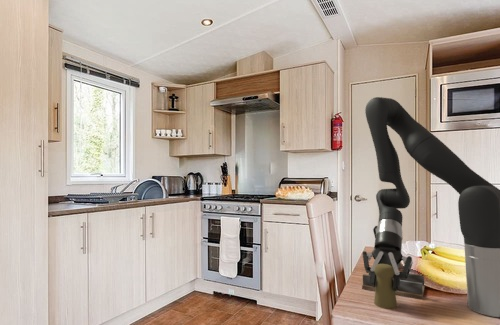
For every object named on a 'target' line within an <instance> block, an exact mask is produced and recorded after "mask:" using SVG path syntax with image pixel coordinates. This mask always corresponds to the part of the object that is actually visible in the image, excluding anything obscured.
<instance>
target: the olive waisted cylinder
mask: <svg viewBox="0 0 500 325" xmlns="http://www.w3.org/2000/svg"><path fill="white" fill-rule="evenodd" d="M374 270H375V274H376V275H377V279H376V289H375V291H374V300H373V303H374V305H375V306H377V307H379V308H382V309H386V310H393V309H396V308H398V302H397V295H395V291H394V290H393V278H392V277H393V276H394V268H393V267H392V266H391V265H388V264H377V265H376V266H375V268H374Z"/></svg>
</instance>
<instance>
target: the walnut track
mask: <svg viewBox="0 0 500 325" xmlns="http://www.w3.org/2000/svg"><path fill="white" fill-rule="evenodd" d="M394 275H395V274H394ZM421 275H422V274H420V275H419V273H410V272H409V275H408V278H406V279H405V278H401V279H400V288H399V290H398V289H397V291H395V295H396V296H400V297H401V296H402V297H407V298H413V299H417V300H418V299H419V300H423V297H424V293H425V289H426V285H424V283H425V276H424V277H423V276H421ZM392 278H393V279H394V276H393V277H392ZM369 279H370V273H368V274H364V273H363V274H362V286H361V290H368V291H373V292H375V289H376V285H375V288H374V287H372V285H371V284H370V281H369ZM376 279H377V275H376Z"/></svg>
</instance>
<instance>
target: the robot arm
mask: <svg viewBox="0 0 500 325" xmlns="http://www.w3.org/2000/svg"><path fill="white" fill-rule="evenodd" d="M364 111H365V113H364V114H365V118H366V121H367V125H368V128H369V132H370V135H371V138H372V139H371V140H372V142H373V146H374V150H375V155H376V162H377V170H378V178H379V180H380V181H381V182H382V183H388V184H389V183H390V184H392V185H394V187H395V188H382V189H379V190H378V191H377V193H376V194H375V198H376V203H377V207H378V214H379V215H378V222H377V225H376V226H377V230H376V238H375V237H374V239H375V240H374V248H373V250H372V251H371V252H367V251H365V250H364V251H362V259H363V267H364V271H365V273H367V274H369V273H370V279H369V281H370V284H371V285H372V287H374V288H375V285H376V274H375V270H374V268H375V266H376V265H377V264H388V265H391V266H392V267H393V268H394V274H395V275H394V279H393V290H394V291H397V289H398V290H399V288H400V279H401V278H405V279H406V278H408V275H409V273H410V271H411V269H412V266H413V264H414V263H413V258H412V256H410V255H408V256H404V255H403V254H402V248H403V247H402V246H403V245H402V244H403V238H404V237H403V219H404V218H403V213H402V211H401V210H400V209H402V210H403V209H406V208H408V207H409V205H410V203H411V197H410V194H409V193H408V192H409V191H408V190H407V188H406V186H405V184H404V182H403V177H402V174H401V166H400V158H399V154H398V151H397V150H396V148H395V146H394V144H393V142H392V140H391V138H390V135H389V132H388V131H389V130H388V127H389V128H391V129H392V130H393V131H394V132H395V133H396V134H398V136H399V138H400V139H401V141H402V143H403V146H404V148H405V151H406V152H407V154H409V156H410V157H411V158H412V159H413V160H414V161H415V162H416V163H417V164H418V165H420V166H421V167H422V168H423V169H425V170H426V171H428V172H429V173H430V174H432V175H433V176H435V177H437V178H438V179H440V180H442V181H444V182H445V183H447V184H448V185H450V187H451V188H453V189H454V190H455V192H456V193H458V194H459V198H458V203H457V204H458V206H457V207H458V209H457V210H458V218H459V227H460V231H461V234H462V235H461V236H463V237H462V238H463V242H464V243H463V246H464V261H465V273H466V274H465V277H466V294H467V307H468V308H469V309H470V310H471V311H473V312H476V313H478V314H482V315H484V316H488V317H494V318H500V189H499V188H498V187H497V186H495V185H493V184H492V183H491V182H489V181H488V180H487V179H485V178H483V176H481V175H479V174H478V173H477V172H475V171H474V170H473V169H471V168H470V167H469V166H468V165H467V164H466V163H465V162H464V160H462V159H461V158H460V157H459V156H458V155H457V154H456V153H455V152H453V150H451V148H449V147H448V146H447V145H446V144H445V143H444V142H443V141H441V140H440V139H439V138H438V137H437V136H436V135H434V134H433V133H432V132H431V131H429V130H428V129H427V128H426V127H424V125H422V124H420V122H418V121H417V120H415V118H413V116H411V114H409V112H408V111H407V110H406V109H405V108H404V107H403V105H402V104H400V102H399V101H398V100H396V99H393V98H389V97H382V96H381V97H380V96H379V97H378V96H377V97H373V98H371V99H370V100H369V101H368V102H367V103H366V105H365V110H364ZM371 258H373V259H374V260H373V263H372V266H371V267H370V262H369V261H371V260H372V259H371ZM402 261H403V265H404V266H403V268H402V270H401V271H399V270H400V269H398V267H397V265H398V264H399V263H400V262H402Z"/></svg>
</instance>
